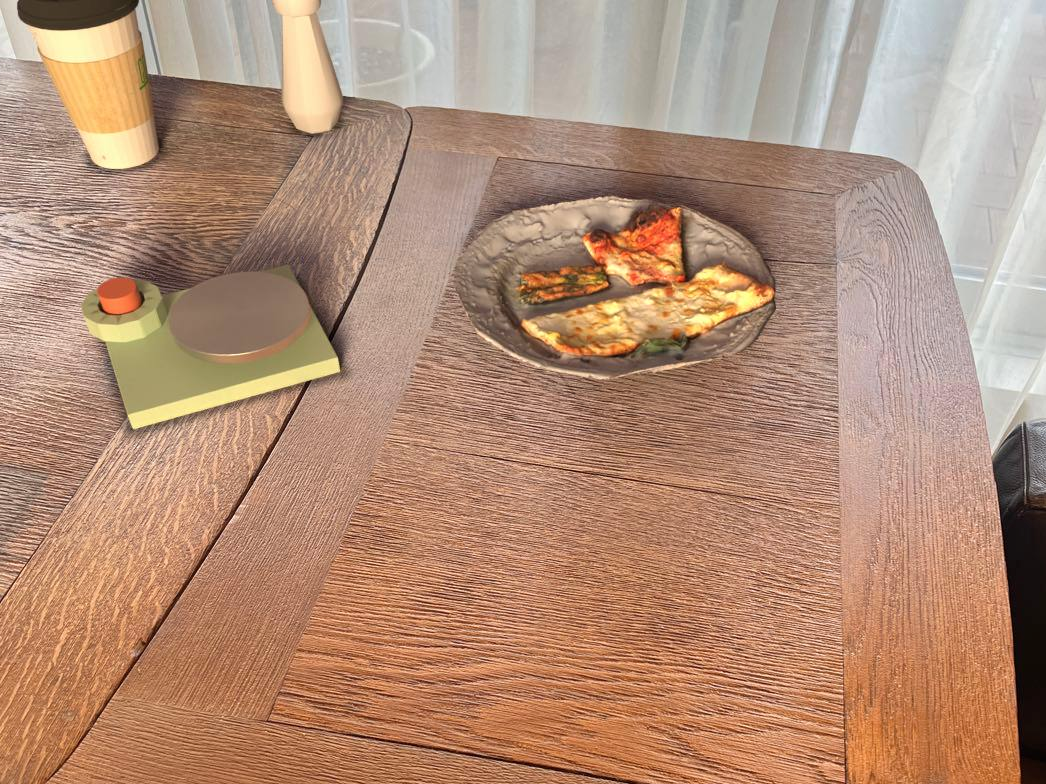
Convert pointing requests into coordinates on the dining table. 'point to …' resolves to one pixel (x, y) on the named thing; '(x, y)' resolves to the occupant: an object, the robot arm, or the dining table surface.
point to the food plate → (614, 287)
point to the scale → (193, 360)
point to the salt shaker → (307, 68)
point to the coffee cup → (98, 74)
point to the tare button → (119, 296)
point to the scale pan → (239, 317)
